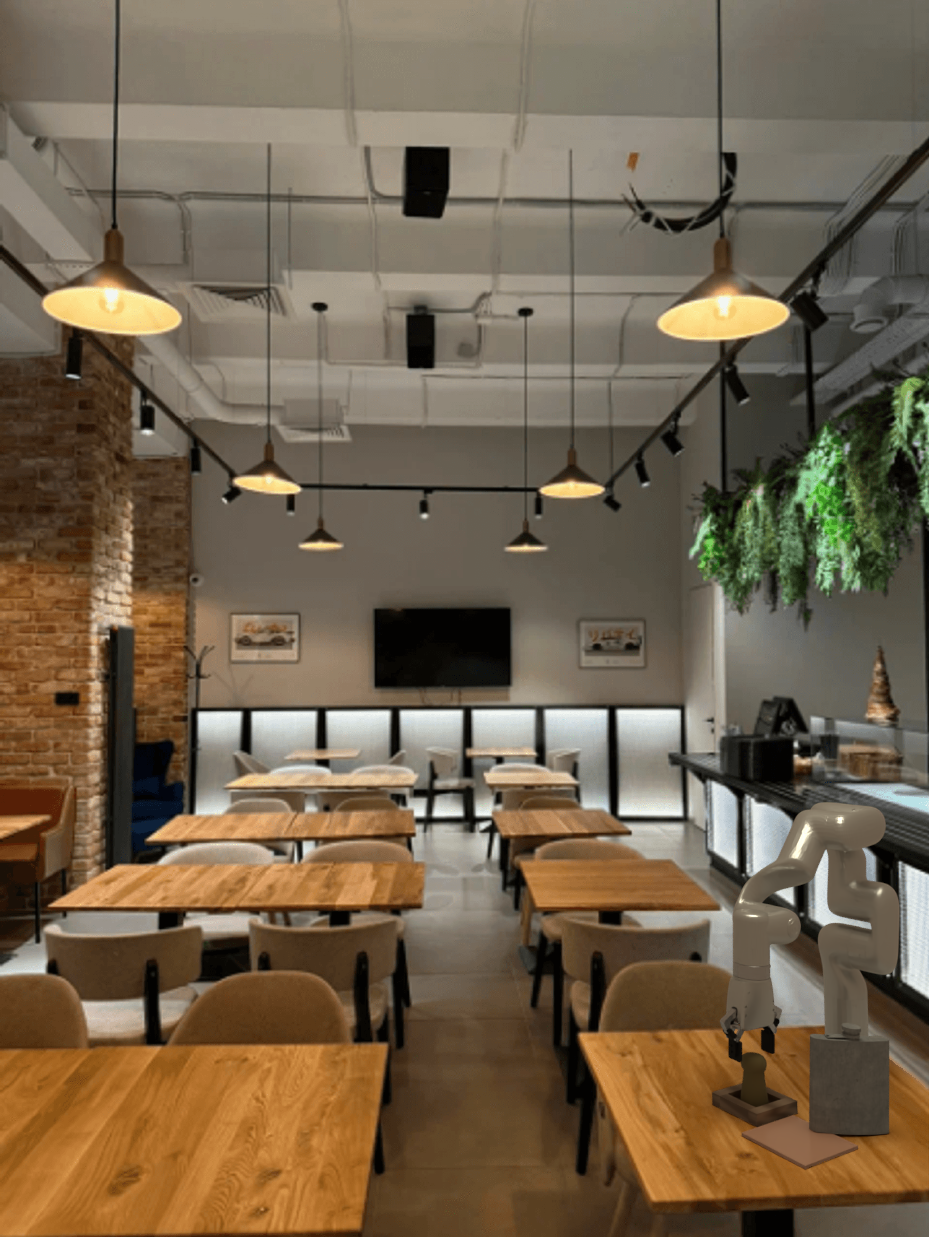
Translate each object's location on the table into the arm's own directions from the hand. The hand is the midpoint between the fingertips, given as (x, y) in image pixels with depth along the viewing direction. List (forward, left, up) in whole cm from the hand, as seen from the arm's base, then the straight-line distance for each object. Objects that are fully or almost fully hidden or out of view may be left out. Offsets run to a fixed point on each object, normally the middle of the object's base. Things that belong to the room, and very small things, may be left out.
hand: (751, 1055), depth 195 cm
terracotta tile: (+3, +14, -11) cm, 18 cm away
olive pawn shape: (-1, 0, -11) cm, 11 cm away
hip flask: (-9, +17, -11) cm, 22 cm away
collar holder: (-1, 0, -11) cm, 11 cm away
